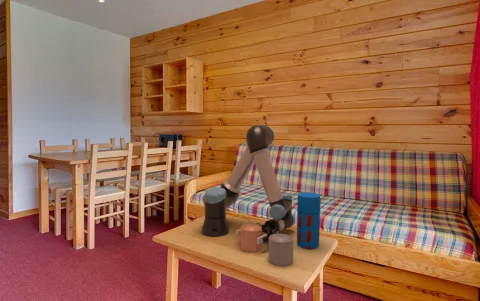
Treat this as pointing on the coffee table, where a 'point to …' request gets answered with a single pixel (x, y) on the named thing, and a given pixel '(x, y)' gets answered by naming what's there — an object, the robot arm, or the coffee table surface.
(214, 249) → the coffee table surface
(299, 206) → the thermos
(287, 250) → the brown octagonal jar
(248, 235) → the octagonal lidded canister
